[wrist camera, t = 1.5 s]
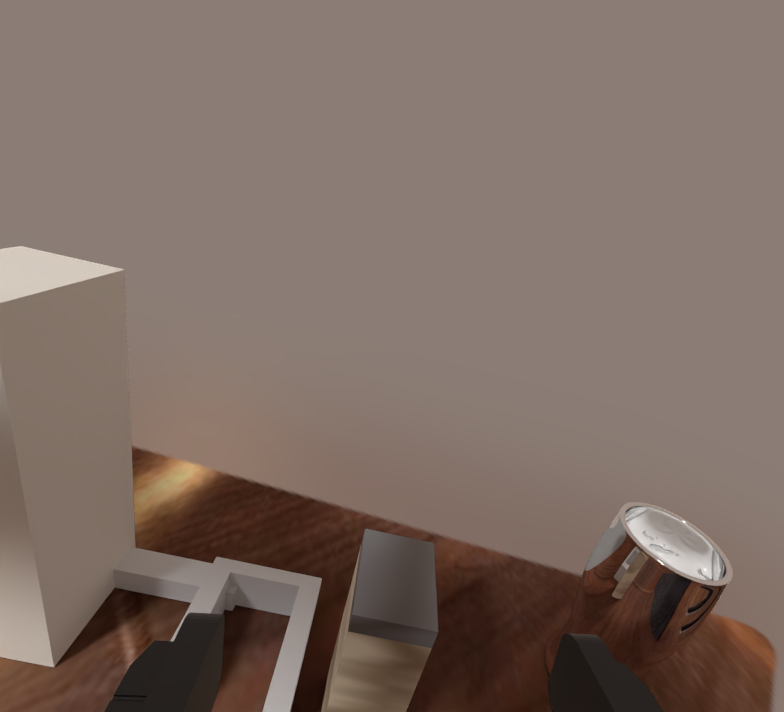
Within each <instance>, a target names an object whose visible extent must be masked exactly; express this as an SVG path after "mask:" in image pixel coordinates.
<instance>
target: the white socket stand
mask: <svg viewBox="0 0 784 712" xmlns="http://www.w3.org/2000/svg"><path fill="white" fill-rule="evenodd" d="M130 422H131V420H130V395H129V370H128V345H127V320H126V295H125V270H124V269H120V268H115V267H111V266H106V265H102V264H98V263H93V262H89V261H84V260H80V259H76V258H71V257H66V256H62V255H58V254H53V253H49V252H44V251H40V250H36V249H31V248H27V247H23V246H19V247H12V248H5V249H0V657H3V658H8V659H13V660H18V661H24V662H29V663H34V664H39V665H44V666H49V667H55V666H56V664H57V663H58V662H59V660H60V659H61V658H62V656H63V655H64V654H65V652H66V651H67V650H68V648H69V647H70V646H71V644H72V643H73V642H74V641H75V639H76V638H77V637H78V635H79V634H80V633H81V631H82V630H83V629H84V627H85V626H86V625H87V623H88V622H89V621H90V619H91V618H92V617H93V616H94V614H95V613H96V612H97V610H98V609H99V608H100V606H101V605H102V604H103V602H104V601H105V600H106V598H107V597H108V596H109V594H110V593H111V592H112V591H113V589H114V588H119V589H124V590H129V591H134V592H139V593H144V594H149V595H154V596H159V597H164V598H169V599H174V600H179V601H184V602H189V603H191V604H190V606H189V608H188V610H187V612H186V614H185V615H184V617H183V619H182V621H181V623H180V625H179V626H178V628H177V630H176V632H175V634H174V636H173V637H172V639H171V641H174V639H175V637H176V635H177V633H178V631H179V629H180V627H181V625H182V623H183V621H184V619H185V617H186V616H187V615H188V613H190V612H192V613H211V614H223V613H224V610H229V611H233V609H234V607H235V605H238V606H243V607H247V608H252V609H257V610H262V611H267V612H272V613H277V614H282V615H287V616H291V617H290V620H289V623H288V627H287V630H286V634H285V637H284V640H283V644H282V647H281V651H280V654H279V657H278V661H277V664H276V668H275V671H274V674H273V678H272V681H271V685H270V688H269V691H268V695H267V698H266V702H265V705H264V708H263V712H291V709H292V705H293V701H294V696H295V692H296V688H297V684H298V680H299V676H300V671H301V667H302V663H303V659H304V655H305V651H306V646H307V642H308V638H309V634H310V630H311V626H312V621H313V617H314V613H315V609H316V604H317V600H318V595H319V591H320V586H321V581H322V578H318V577H313V576H309V575H304V574H299V573H294V572H289V571H284V570H279V569H274V568H270V567H265V566H260V565H255V564H250V563H245V562H240V561H236V560H231V559H226V558H221V557H216V559H215V560H214V562H213V564H212V563H208V562H203V561H198V560H193V559H188V558H183V557H178V556H173V555H169V554H164V553H159V552H154V551H149V550H144V549H139V548H136V545H135V520H134V495H133V470H132V445H131V423H130Z"/></svg>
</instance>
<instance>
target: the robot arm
mask: <svg viewBox="0 0 784 712" xmlns="http://www.w3.org/2000/svg"><path fill="white" fill-rule="evenodd" d="M224 624H225V616H224V614H211V613H192V612H190V613H188V615H187V616H186V617H185V619H184V621H183V623H182V625H181V627H180V629H179V631H178V633H177V635H176V637H175V639H174V641H154V642H153V643H152V644H151V645H150V646H149V647H148V648H147V649H146V650H145V651H144V652H143V653H142V654H141V655H140V656H139V657H138V658H137V659H136V660H135V661H134V662H133V663H132V664H131V665H130V667H129V669H128V671H127V673H126V674H125V676H124V678H123V680H122V681H121V683H120V685H119V687H118V689H117V690H116V692H115V694H114V697H113V700H112V701H110V703H109V705H108V706H107V708H106V710H105V712H211V711H212V708H213V705H214V702H215V698H216V695H217V691H218V687H219V683H220V678H221V672H222V663H223V644H224ZM548 694H549V701H550V705H551V709H552V712H663V711H662V709H661V708H660V706H659V705H658V703H657V702H656V700H655V698H654V697H653V695H652V694H651V692H650V691H649V689H648V688H647V686H646V685H645V684H644V683H643V682H642V681H641V680H640V679H639V678H638V677H637V676H636V675H635V674H634V673H633V672H632V671H631V670H630V669H629V668H628V667H627V666H626V665H625V664H624V663H617V662H616V661H615V659H614V657H613V656H612V654H611V653H610V651H609V649H608V648H607V646H606V644H605V643H604V641H603V640H602V639H601V638H600V637H599V636H597V635H589V634H570V633H566V634H564V635H563V636H562V639H561V641H560V645H559V648H558V651H557V654H556V658H555V661H554V664H553V667H552V671H551V674H550V677H549V682H548Z"/></svg>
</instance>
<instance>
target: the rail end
mask: <svg viewBox="0 0 784 712" xmlns="http://www.w3.org/2000/svg"><path fill="white" fill-rule="evenodd" d="M437 634H438V613H437V594H436V575H435V555H434V543H432V542H427V541H422V540H417V539H412V538H408V537H403V536H398V535H393V534H389V533H384V532H379V531H374V530H370V529H365V532H364V535H363V539H362V543H361V547H360V551H359V555H358V559H357V563H356V567H355V570H354V574H353V578H352V582H351V586H350V590H349V594H348V598H347V602H346V605H345V609H344V613H343V617H342V621H341V625H340V629H339V633H338V637H337V640H336V644H335V648H334V652H333V656H332V660H331V664H330V668H329V672H328V675H327V681H326V686H325V692H324V697H323V703H322V708H321V712H406V711H407V708H408V706H409V703H410V701H411V698H412V696H413V693H414V691H415V689H416V686H417V684H418V681H419V679H420V676H421V674H422V671H423V669H424V666H425V664H426V661H427V659H428V656H429V654H430V652H431V649H432V647H433V644H434V642H435V639H436V637H437Z"/></svg>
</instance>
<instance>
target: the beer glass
mask: <svg viewBox="0 0 784 712" xmlns="http://www.w3.org/2000/svg"><path fill="white" fill-rule="evenodd" d="M732 576H733V572H732V568H731V565H730V563H729V561H728V559H727V557H726V556H725V554H724V553H723V552H722V551H721V549H720V548H719V547H718V546H717V545H716V544H715V543H714V542H713V541H712V540H711V539H710V538H709V537H708V536H707V535H705V534H704V533H703V532H702V531H701V530H699V529H698V528H696V527H695V526H694V525H692V524H691V523H689V522H688V521H686V520H685V519H683V518H681V517H679V516H678V515H676V514H674V513H672V512H670V511H668V510H665V509H663V508H660V507H657V506H655V505H651V504H647V503H642V502H631V503H628V504H625V505H624V506H623V507H622V508H621V510H620V512H619V513H618V515H617V516H616V517H615V519H614V520H613V521H612V523H611V524H610V525H609V527H608V528H607V530H606V531H605V532H604V534H603V536H602V537H601V538H600V540H599V541H598V543H597V545H596V546H595V548H594V550H593V552H592V554H591V556H590V558H589V560H588V561H587V564H586V567H585V569H584V572H583V575H582V578H581V581H580V585H579V588H578V592H577V595H576V599H575V603H574V606H573V609H572V613H571V615H570V617H569V619H568V621H567V622H566V624H565V625H564V626H563V627H562V628H561V629H560V630H559V631H558V632H557V633H556V634H555V635H553V637H552V638H551V639H550V640H549V642H548V643H547V646H546V650H545V662H546V667H547V670H548V673H549V675H550V674H551V671H552V667H553V664H554V661H555V658H556V654H557V651H558V648H559V645H560V641H561V639H562V636H563V635H564V634H566V633H570V634H589V635H597V636H599V637H600V638H601V639H602V640H603V641H604V643H605V644H606V646H607V648H608V649H609V651H610V653H611V654H612V656H613V657H614V659H615V661H616V662H617V663H624V664H625V665H626V666H627V667H628V668H629V669H630V670H631V671H632V672H633V673H634V674H635V675H636V676H637V677H638V678H640V677H641V676H642V675H643V674H645V673H646V672H647V671H649V670H650V669H652V668H653V667H655V666H656V665H658V664H659V663H661V662H662V661H664V660H665V659H666V658H668V657H669V656H671V655H672V654H674V653H675V652H676V651H677V650H679V649H680V648H681V647H682V646H683V645H685V644H686V643H687V642H688V641H689V640H690V639H691V638H692V636H693V635H694V634H695V633H696V632H697V631H698V630H699V629H700V627H701V626H702V624H703V623H704V622H705V620H706V619H707V617H708V616H709V615H710V613H711V611H712V610H713V608H714V606H715V605H716V603H717V601H718V600H719V598H720V596H721V594H722V593H723V591H724V589H725V587H726V586H727V584H728V583H729V582H730V581H731V580H732Z"/></svg>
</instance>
